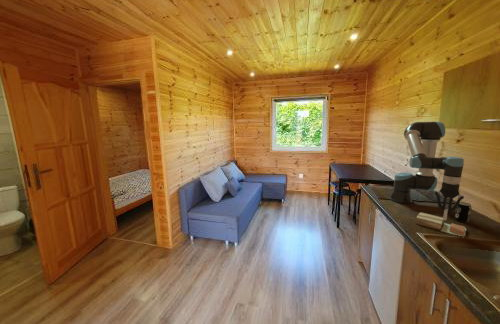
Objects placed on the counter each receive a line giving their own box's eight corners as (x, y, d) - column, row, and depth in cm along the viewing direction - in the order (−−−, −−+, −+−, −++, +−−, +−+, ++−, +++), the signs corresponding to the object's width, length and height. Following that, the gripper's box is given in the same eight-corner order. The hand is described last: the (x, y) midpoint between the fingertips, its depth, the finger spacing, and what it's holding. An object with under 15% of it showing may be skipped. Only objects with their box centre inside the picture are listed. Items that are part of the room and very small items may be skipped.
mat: (444, 223, 133) (444, 222, 133) (466, 229, 125) (466, 228, 125) (440, 231, 124) (440, 230, 124) (464, 237, 116) (464, 237, 116)
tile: (465, 226, 124) (464, 229, 124) (451, 223, 128) (450, 226, 128) (463, 232, 118) (463, 235, 118) (449, 228, 122) (449, 231, 123)
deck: (419, 217, 141) (420, 212, 141) (442, 223, 132) (443, 217, 132) (415, 223, 134) (416, 217, 133) (440, 230, 125) (441, 224, 124)
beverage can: (451, 218, 140) (454, 201, 137) (463, 218, 138) (466, 202, 136) (459, 222, 133) (463, 205, 131) (471, 223, 132) (475, 205, 130)
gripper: (435, 181, 125) (429, 217, 129) (466, 186, 115) (459, 225, 120) (437, 179, 130) (432, 214, 134) (467, 183, 120) (460, 220, 125)
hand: (444, 219), depth 127 cm, fingers closed
